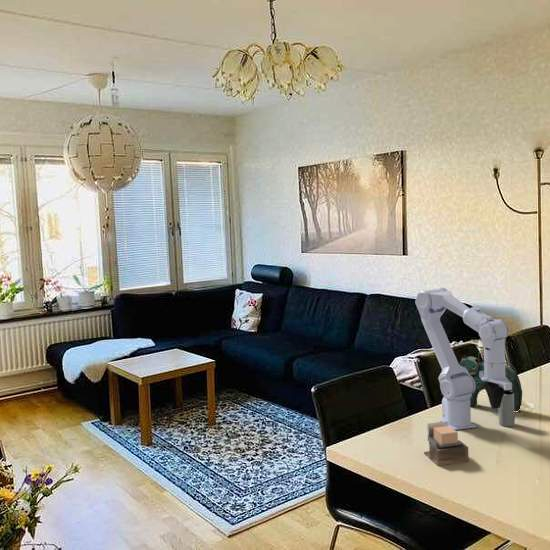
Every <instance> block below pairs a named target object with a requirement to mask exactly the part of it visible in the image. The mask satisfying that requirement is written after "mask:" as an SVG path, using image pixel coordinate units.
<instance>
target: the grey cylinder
mask: <svg viewBox="0 0 550 550" xmlns="http://www.w3.org/2000/svg"><path fill="white" fill-rule="evenodd" d="M515 420H516V419H515V412H514V392H512V391H509V390H506V391H505V393H504V395H503V398H502V401H501V405H500V408H498V424H499V425H500V426H502V427H505V428H511V427H514V426H515Z"/></svg>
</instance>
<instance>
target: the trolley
mask: <svg viewBox="0 0 550 550" xmlns="http://www.w3.org/2000/svg"><path fill="white" fill-rule="evenodd" d="M426 428H427V429H426V430H427V432H426V433H427V442H428V445H429V444H433V445H434V446H435V447H437V448H438V449H446V448H454V447H461V443H460V442H459V441H458V440H459V437H458V431H457V430H454V429H453V428H451V427H450V426H449V424H448V421H445V422H441V421H436V422H431V423H426Z"/></svg>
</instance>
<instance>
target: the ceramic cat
mask: <svg viewBox="0 0 550 550" xmlns="http://www.w3.org/2000/svg"><path fill="white" fill-rule="evenodd" d="M481 352H484V349H481V350H479V351H478V354H477V355H478V358H477V357H475V356H467V355H466V354H462V356H461V360H460V362H458V364H459V365H460V366H462V367H464V368H466V369H467V370H468V373H469V374H470V376H471V377H472V378H473V379H474V381H475V385H476V388H475V391H474V392H473V393H472V397H470V406H472V407H471V408H474V407H473V406H475V407H476V406H477V405H478V397H479V396H478V395H479V394H480V392H481V391H483V390H485V388H484V387H483V383H487V382H488V381H483V380H481V378H480V377H479V371H484V361H482V360H481V358H480V353H481ZM505 377H506V378H507V379H508V380H509V382H511V383H512V390H509V391H512V392H514V411H518V410H519V409H520V406H521V407H522V403H523V402H522V401H523V389H522V383H521V380H520V377H519V375H518V372H517V369H516V368H515V366H513V364H512V363H509V362H506V361H505ZM476 404H477V405H476Z"/></svg>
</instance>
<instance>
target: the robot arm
mask: <svg viewBox="0 0 550 550" xmlns="http://www.w3.org/2000/svg"><path fill="white" fill-rule="evenodd" d="M414 301H415V302H414V303H415V305H416V309H417V310H418V313H419V316H420V320H421V323H422V325H423V327H424V330H425V332H426V335H427V337H428V339H429V342H430V344H431V347H432V349H433V351H434V354H435V356H436V358H437V361H438V363H439V366H440V368H441V372H440V374H439V376H438V378H437V379H438V382H439V387H440V391H441V395H442V396H443V397H442V399H441V415H442V416H441V417H442V418H440V419H439V422H445V421H448V424H449V426H450V427H451V428H453V429H454V430H455V431H457V430H465V429H473V428H477V425H476V424H475V423H473V422H472V418H471V417H472V416H471V415H472V414H471V410H472V409H471V407H470V397H472V393H473V392H474V391H475V388H476V385H475V381H474V379H473V378H472V377H471V376H470V374H469V373H468V370H467V369H466V368H464V367H462V366H460V365H459V361H458V359H457V356H456V355H455V351H454V349H453V347H452V345H451V343H450V341H449V339H448V335H447V333H446V331H445V328H444V327H443V324H442V322H441V317H442V316H443V314H444V313H445V311H446V310H449V311H450V312H452V313H454V314H456V315H457V316H459V317H461V318H462V321H463V323H464V324H465V325H467V326H468V327H469V328H471V329H472V330H474V331H475V332H476V333H478V336H479V337H480V339H481V346H482V347H483V350H484V351H483V362H484V371H479V377H480V378H481V380H483V381H488V382H487V383H483V387H484V388H485V389H484V390H485V392H486V395H487V398H488V400H489V401H488V402H489V404H490V408H492V409H499V408H500V405H501V401H502V398H503V395H504V393H505V391H506V390H512V383H511V382H509V380H508V379H507V378H506V377H505V365H506V364H505V362H506V348H505V345H506V343H505V342H506V341H505V339H507V337H508V336H509V333H510V329H509V325H508V324H507V323H506V322H505V321H504V320H503V319H500V318H499V319H495V318H493V316H491V315H488V314H486V313H485V312H484V311H482V310H481V308H480V307H468V306H467V305H466V304H464V303H463V302H461V301H460V300H459V299H458V298H457V297H455V296H454V295H453V293H452V292H451V290H448V289H447V288H445V287H440V288H435V289H433V288H432V289H427V290H424V289H423V290H420V291H418V293H417V295H416V298H415V300H414Z"/></svg>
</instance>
